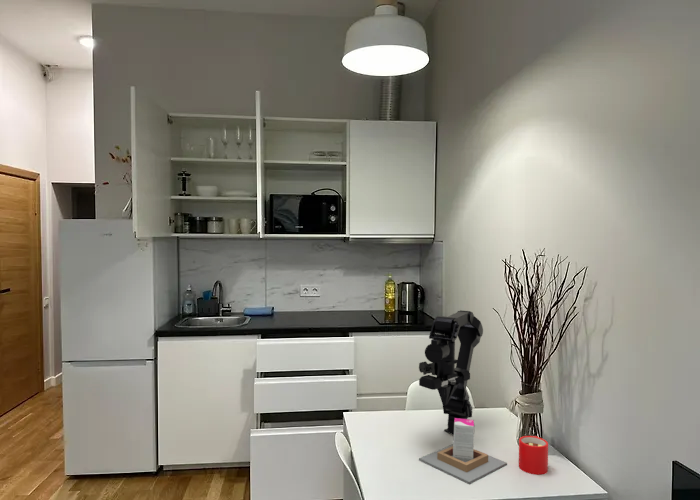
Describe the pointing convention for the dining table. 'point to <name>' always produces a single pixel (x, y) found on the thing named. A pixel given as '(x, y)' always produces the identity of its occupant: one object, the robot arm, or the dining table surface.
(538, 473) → the mug
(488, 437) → the dining table surface
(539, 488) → the dining table surface
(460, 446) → the supplement box
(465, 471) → the holder
